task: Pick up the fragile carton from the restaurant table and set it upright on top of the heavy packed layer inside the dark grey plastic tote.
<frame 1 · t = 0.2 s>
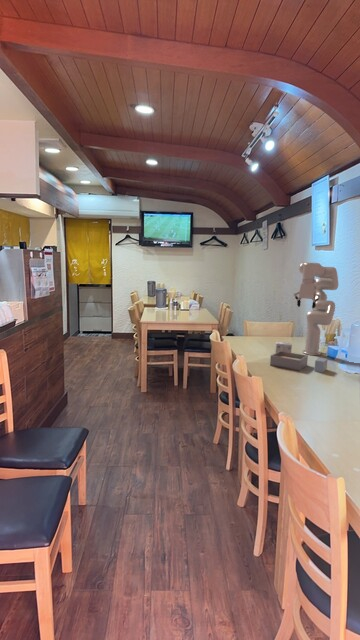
hand: (306, 307, 249), 36 cm above the table, tool pointing down, fingers open, 9 cm apart
tote: (288, 365, 241), on the table
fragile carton: (320, 370, 231), on the table
light bulb box: (282, 358, 259), on the table
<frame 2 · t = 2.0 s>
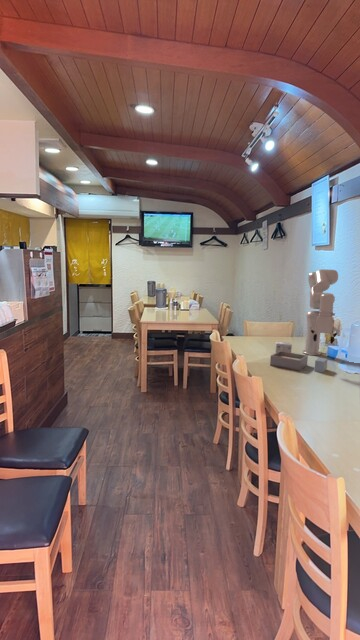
hand: (323, 342, 228), 18 cm above the table, tool pointing down, fingers open, 9 cm apart
nothing on the table moved.
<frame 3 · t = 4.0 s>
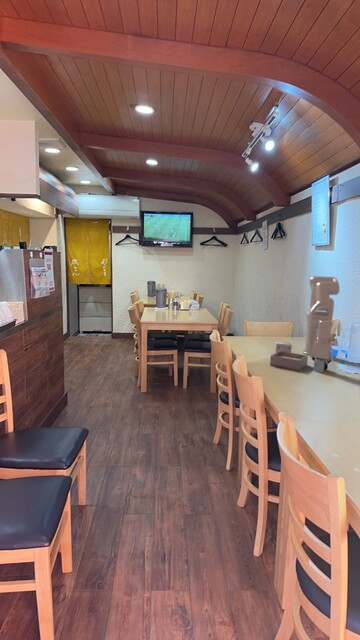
hand: (320, 368, 231), 1 cm above the table, tool pointing down, fingers closed on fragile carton, 5 cm apart
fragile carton: (320, 370, 231), on the table, touching gripper
everything else where it was.
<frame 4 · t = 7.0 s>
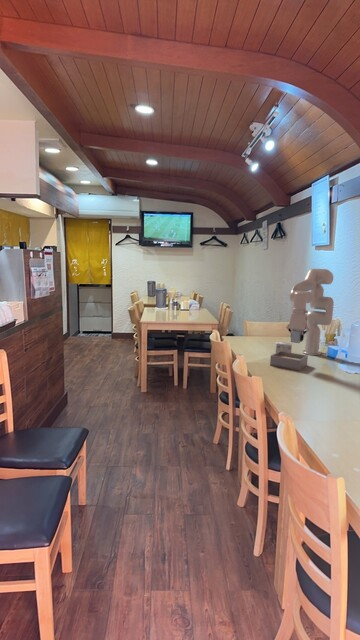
hand: (296, 339, 236), 17 cm above the table, tool pointing down, fingers closed on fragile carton, 5 cm apart
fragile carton: (296, 341, 236), point 16 cm above the table, touching gripper
everything else where it was.
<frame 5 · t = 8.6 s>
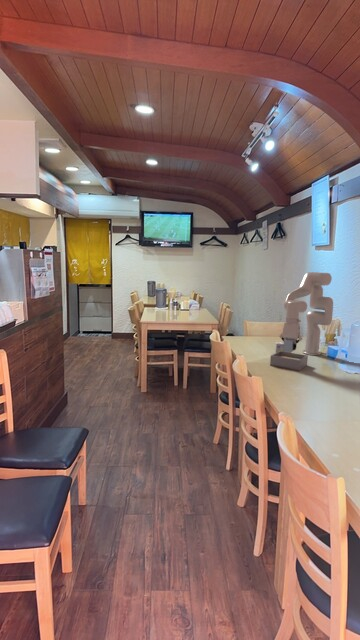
hand: (289, 348, 239), 11 cm above the table, tool pointing down, fingers closed on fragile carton, 5 cm apart
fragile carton: (289, 350, 239), point 10 cm above the table, touching gripper
everything else where it was.
when the fingers open (6 cm above the table, at t = 10.0 s): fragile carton stays where it is, resting on tote.
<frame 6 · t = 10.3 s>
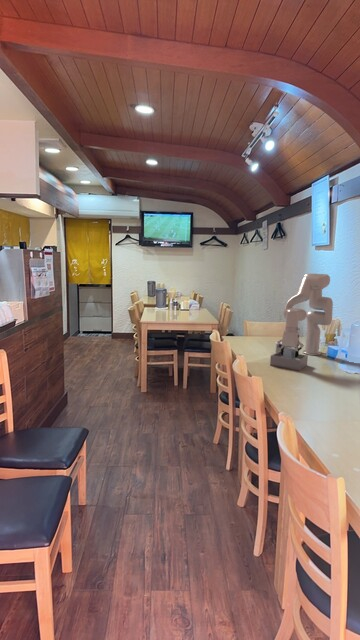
hand: (289, 355, 240), 6 cm above the table, tool pointing down, fingers open, 8 cm apart
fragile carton: (289, 359, 240), point 4 cm above the table, touching tote
everything else where it was.
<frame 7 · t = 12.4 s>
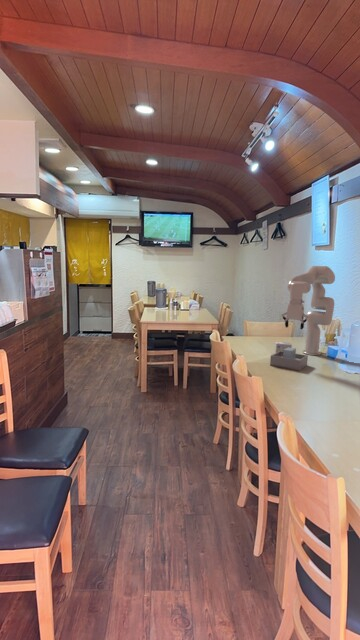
hand: (294, 328, 241), 24 cm above the table, tool pointing down, fingers open, 9 cm apart
nothing on the table moved.
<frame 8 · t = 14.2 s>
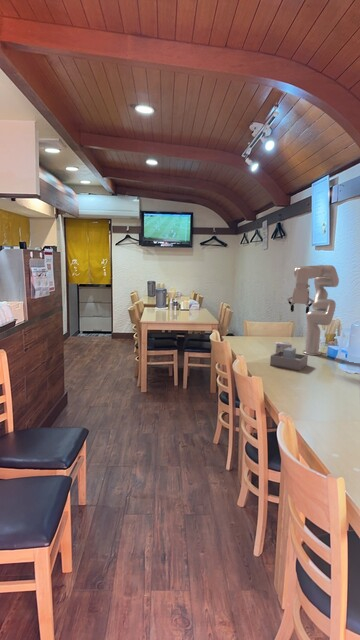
hand: (299, 312, 247), 33 cm above the table, tool pointing down, fingers open, 9 cm apart
nothing on the table moved.
at the end: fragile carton inside the target area on the tote (0.0 cm from its centre), point 3.8 cm above the tote's base; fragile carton tilted 0°; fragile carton touching tote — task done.
